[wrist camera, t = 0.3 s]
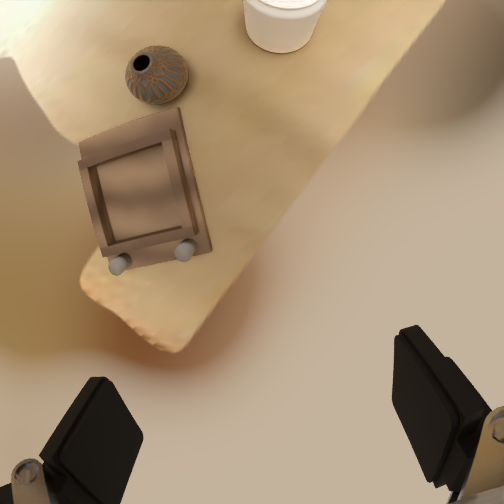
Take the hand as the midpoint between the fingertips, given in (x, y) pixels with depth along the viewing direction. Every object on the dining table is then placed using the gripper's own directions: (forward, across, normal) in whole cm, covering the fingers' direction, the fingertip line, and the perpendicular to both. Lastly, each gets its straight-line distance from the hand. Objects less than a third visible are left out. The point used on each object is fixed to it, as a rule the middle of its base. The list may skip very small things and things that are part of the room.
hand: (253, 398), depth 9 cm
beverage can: (+30, -8, -23) cm, 39 cm away
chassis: (+30, +13, -6) cm, 33 cm away
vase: (+30, +7, -20) cm, 37 cm away
